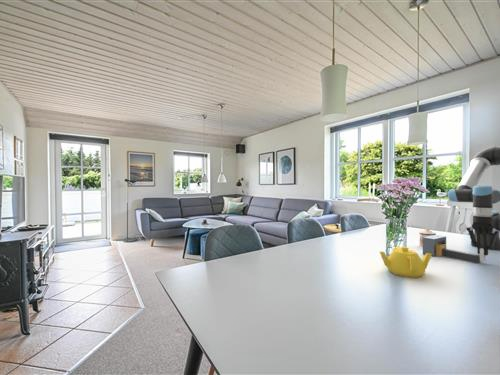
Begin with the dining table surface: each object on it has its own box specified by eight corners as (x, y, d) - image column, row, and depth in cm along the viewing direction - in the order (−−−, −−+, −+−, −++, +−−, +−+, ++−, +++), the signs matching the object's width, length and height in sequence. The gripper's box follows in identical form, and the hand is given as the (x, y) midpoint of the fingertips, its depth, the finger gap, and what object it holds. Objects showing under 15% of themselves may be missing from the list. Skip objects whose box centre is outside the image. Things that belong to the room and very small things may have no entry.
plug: (434, 252, 149) (434, 242, 149) (481, 262, 130) (481, 250, 130) (429, 253, 146) (429, 243, 146) (476, 263, 127) (476, 252, 127)
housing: (434, 250, 152) (434, 234, 152) (446, 253, 147) (446, 236, 147) (422, 254, 146) (422, 237, 145) (434, 256, 140) (434, 239, 140)
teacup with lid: (416, 245, 166) (416, 228, 166) (424, 243, 170) (423, 227, 170) (436, 249, 155) (436, 231, 155) (443, 247, 159) (443, 229, 159)
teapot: (416, 282, 104) (416, 254, 104) (377, 271, 118) (377, 246, 118) (432, 273, 114) (432, 248, 114) (395, 264, 127) (394, 241, 127)
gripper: (463, 214, 131) (463, 258, 131) (496, 217, 119) (497, 265, 120) (469, 213, 134) (469, 256, 135) (502, 216, 123) (502, 263, 123)
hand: (482, 261), depth 127 cm, fingers closed
